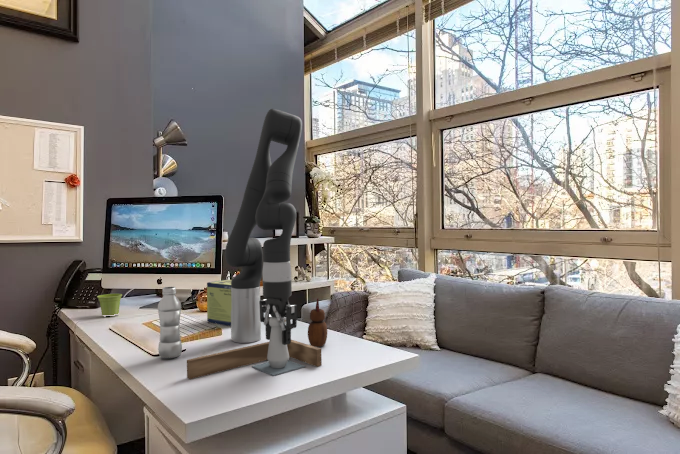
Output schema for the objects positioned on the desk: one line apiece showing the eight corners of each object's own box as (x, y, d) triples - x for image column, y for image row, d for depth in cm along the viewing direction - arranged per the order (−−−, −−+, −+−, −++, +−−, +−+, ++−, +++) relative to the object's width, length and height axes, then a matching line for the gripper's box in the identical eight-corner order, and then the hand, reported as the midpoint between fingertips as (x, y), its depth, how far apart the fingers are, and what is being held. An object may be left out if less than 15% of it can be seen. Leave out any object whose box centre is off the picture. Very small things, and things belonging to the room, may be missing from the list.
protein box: (235, 327, 169) (235, 284, 169) (206, 322, 177) (205, 282, 177) (255, 321, 178) (254, 281, 178) (226, 317, 186) (226, 279, 186)
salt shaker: (289, 362, 124) (289, 314, 124) (289, 369, 119) (288, 318, 118) (268, 363, 124) (267, 314, 124) (266, 369, 118) (265, 319, 118)
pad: (251, 367, 122) (251, 366, 122) (282, 359, 128) (282, 358, 128) (273, 376, 114) (273, 374, 114) (305, 367, 121) (305, 366, 121)
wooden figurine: (324, 348, 138) (323, 299, 138) (305, 348, 139) (305, 298, 139) (329, 343, 145) (328, 295, 145) (311, 342, 146) (311, 295, 146)
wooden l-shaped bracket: (187, 377, 114) (186, 359, 114) (286, 353, 134) (285, 337, 134) (218, 395, 102) (217, 375, 102) (321, 365, 122) (321, 348, 122)
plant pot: (92, 318, 188) (91, 297, 188) (107, 313, 198) (107, 293, 197) (113, 318, 187) (112, 297, 187) (127, 314, 196) (127, 293, 196)
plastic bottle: (159, 362, 127) (158, 290, 127) (157, 356, 133) (155, 287, 133) (184, 359, 130) (183, 288, 130) (180, 353, 136) (179, 285, 136)
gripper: (305, 279, 118) (306, 344, 118) (273, 275, 129) (274, 334, 129) (281, 282, 113) (282, 349, 113) (250, 278, 124) (251, 339, 124)
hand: (277, 341), depth 121 cm, fingers open, 7 cm apart
